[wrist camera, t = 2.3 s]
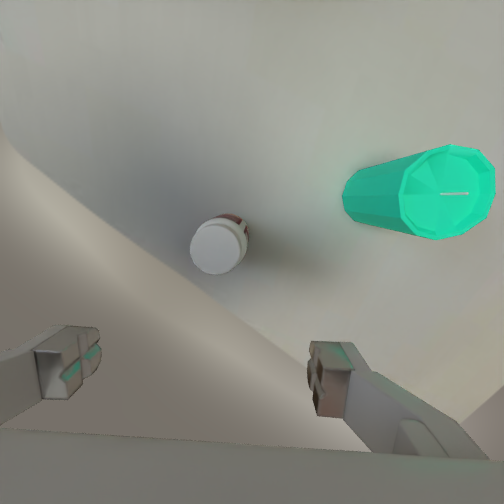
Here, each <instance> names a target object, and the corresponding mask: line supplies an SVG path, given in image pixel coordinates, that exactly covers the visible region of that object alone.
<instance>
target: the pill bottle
mask: <svg viewBox="0 0 504 504" xmlns="http://www.w3.org/2000/svg"><path fill="white" fill-rule="evenodd" d="M248 241H249V230H248V227H247V225H246V223H245V222H244V221H243V220H242V219H241V218H240V217H238V216H236V215H234V214H222V215H219V216H217V217H214V218H212V219H210V220H208V221H206V222H204V223H203V224H202V225H201V226H200V227H199V228H198V229H197V231H196V233H195V235H194V237H193V238H192V241H191V244H190V255H191V258H192V260H193V262H194V264H195V265H196V266H197V267H198V268H199V269H200V270H201V271H203V272H205V273H207V274H211V275H221V274H225V273H227V272H229V271H231V270H232V269H233V268H234V267H235V266H237V265H238V264H239V263H240V262H241V261H242V260H243V258H244V256H245V254H246V251H247V246H248Z"/></svg>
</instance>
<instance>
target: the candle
mask: <svg viewBox="0 0 504 504" xmlns="http://www.w3.org/2000/svg"><path fill="white" fill-rule="evenodd" d="M495 194H496V192H495V168H494V167H493V166H492V164H491V163H490V162H489V161H488V160H487V159H486V157H485V156H484V155H483V154H482V153H481V152H480V151H479V150H478V149H472V148H467V147H462V146H457V145H451V144H449V145H446V146H442V147H439V148H435V149H432V150H428V151H425V152H421V153H418V154H414V155H411V156H407V157H404V158H400V159H397V160H393V161H390V162H387V163H383V164H380V165H376V166H373V167H369V168H366V169H362V170H359V171H357V172H356V173H355V174H354V175H353V176H352V177H351V178H350V179H349V180H348V181H347V183H346V186H345V189H344V192H343V195H342V199H343V204H344V209H345V211H346V212H347V213H348V215H349V216H350V217H351V218H352V219H353V220H354V221H357V222H361V223H365V224H369V225H373V226H377V227H381V228H386V229H390V230H394V231H399V232H403V233H407V234H412V235H416V236H420V237H424V238H429V239H433V240H439V239H444V238H448V237H453V236H457V235H462V234H464V233H465V232H467V231H468V230H469V229H471V228H472V227H474V226H475V225H477V224H478V223H480V222H481V221H483V220H484V219H486V218H487V215H488V212H489V210H490V207H491V204H492V202H493V199H494V196H495Z"/></svg>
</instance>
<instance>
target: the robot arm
mask: <svg viewBox="0 0 504 504" xmlns="http://www.w3.org/2000/svg"><path fill="white" fill-rule="evenodd" d="M99 339H100V334H99V330H98V329H97V328H93V327H81V326H68V325H54V326H51V327H50V328H48V329H47V330H45V331H43V332H42V333H40V334H38V335H37V336H35V337H34V338H32V339H30V340H29V341H27V342H25V343H24V344H22V345H20V346H19V347H17V348H16V349H8V350H6V351H2V352H0V425H2V424H3V423H5V422H7V421H8V420H10V419H12V418H13V417H15V416H17V415H18V414H20V413H22V412H24V411H25V410H27V409H29V408H30V407H32V406H34V405H35V404H37V403H39V402H40V401H42V399H52V400H53V399H55V400H68V399H69V398H70V397H71V396H72V395H73V394H74V393H75V392H76V391H77V390H78V389H79V388H80V387H81V386H82V384H83V379H85V378H87V377H89V376H91V375H92V374H93V373H94V372H95V371H96V370H97V368H98V366H99V364H100V362H101V357H102V352H101V348H100V347H99V345H98V344H97V342H98V341H99ZM309 352H310V355H311V359H310V360H309V361H308V366H307V377H308V384H309V388H310V390H312V391H313V403H314V406H315V410H316V413H317V416H322V417H332V418H343V420H344V421H345V422H346V424H347V425H348V426H349V427H350V428H351V429H352V430H353V431H354V432H355V434H356V435H357V436H358V437H359V438H360V439H361V440H362V441H363V442H364V443H365V445H366V446H367V447H368V448H369V449H370V450H371V451H372V452H358V451H343V450H326V449H310V448H296V447H281V446H266V445H251V444H236V443H222V442H221V443H220V442H206V441H192V440H176V439H161V438H144V437H130V436H114V435H99V434H84V433H69V432H53V431H39V430H24V429H8V428H0V504H504V461H494V460H490V459H489V458H488V457H487V456H486V454H485V453H484V452H483V451H482V450H481V449H480V448H479V446H478V445H477V444H476V443H475V442H474V441H473V440H472V439H471V437H470V436H469V435H468V434H467V433H466V432H465V431H464V430H463V428H462V427H461V426H460V425H459V424H458V423H457V422H456V421H455V420H453V419H451V418H450V417H448V416H447V415H445V414H443V413H442V412H440V411H439V410H437V409H435V408H434V407H432V406H431V405H429V404H427V403H426V402H424V401H423V400H421V399H419V398H418V397H416V396H415V395H413V394H411V393H410V392H408V391H406V390H405V389H403V388H402V387H400V386H398V385H397V384H395V383H394V382H392V381H390V380H389V379H387V378H386V377H384V376H382V375H381V374H379V373H378V372H372V371H371V369H370V368H369V366H368V365H367V363H366V362H365V360H364V359H363V357H362V356H361V354H360V353H359V351H358V350H357V348H356V347H355V345H354V344H353V343H352V342H327V341H311V343H310V348H309Z"/></svg>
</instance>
